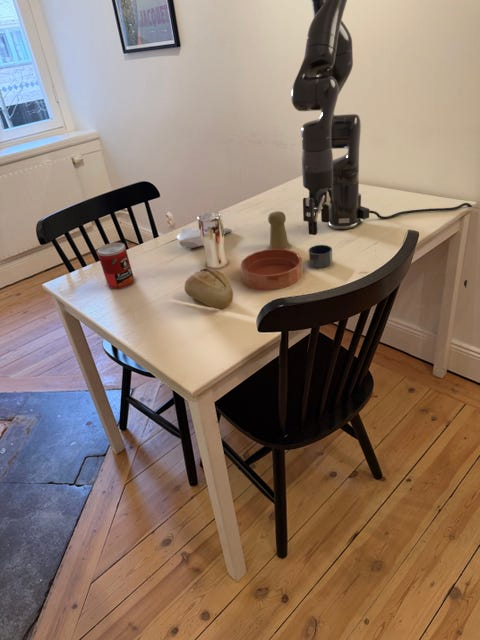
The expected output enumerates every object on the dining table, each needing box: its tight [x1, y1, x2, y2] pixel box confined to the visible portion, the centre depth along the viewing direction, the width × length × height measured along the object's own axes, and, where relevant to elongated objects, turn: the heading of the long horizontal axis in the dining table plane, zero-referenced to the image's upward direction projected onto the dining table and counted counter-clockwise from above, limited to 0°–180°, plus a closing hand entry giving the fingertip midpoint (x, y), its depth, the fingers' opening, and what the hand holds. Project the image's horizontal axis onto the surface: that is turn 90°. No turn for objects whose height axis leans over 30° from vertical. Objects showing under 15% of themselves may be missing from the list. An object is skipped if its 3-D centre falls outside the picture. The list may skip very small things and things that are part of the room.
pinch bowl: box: [308, 244, 333, 269], centre depth 128 cm, size 6×6×5 cm
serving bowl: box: [240, 248, 304, 291], centre depth 126 cm, size 16×16×5 cm
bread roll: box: [184, 267, 234, 310], centre depth 118 cm, size 10×15×8 cm, turn 46°
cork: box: [267, 210, 289, 249], centre depth 140 cm, size 6×6×11 cm
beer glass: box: [197, 211, 228, 269], centre depth 134 cm, size 7×7×15 cm
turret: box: [176, 227, 232, 249], centre depth 153 cm, size 10×20×5 cm, turn 136°
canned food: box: [97, 242, 135, 290], centre depth 132 cm, size 8×8×11 cm
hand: (319, 227), depth 124 cm, fingers open, 8 cm apart
